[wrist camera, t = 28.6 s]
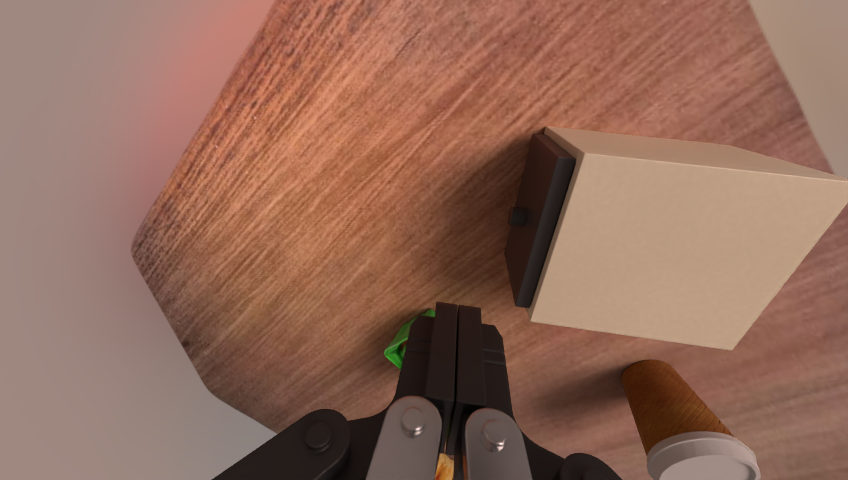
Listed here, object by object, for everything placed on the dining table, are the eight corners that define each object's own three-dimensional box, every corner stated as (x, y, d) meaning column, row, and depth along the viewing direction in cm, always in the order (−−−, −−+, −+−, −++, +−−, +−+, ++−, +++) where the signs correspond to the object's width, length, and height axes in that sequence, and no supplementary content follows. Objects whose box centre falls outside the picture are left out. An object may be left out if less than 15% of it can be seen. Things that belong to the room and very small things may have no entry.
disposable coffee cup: (706, 369, 40) (792, 476, 29) (649, 408, 44) (705, 513, 34) (644, 339, 39) (710, 439, 28) (592, 382, 43) (632, 483, 33)
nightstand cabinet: (512, 254, 35) (529, 321, 26) (545, 125, 29) (584, 152, 19) (659, 273, 34) (732, 350, 25) (728, 144, 28) (863, 182, 18)
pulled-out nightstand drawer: (493, 251, 34) (500, 304, 27) (519, 131, 28) (539, 154, 21) (642, 271, 33) (696, 332, 26) (703, 151, 27) (797, 183, 20)
